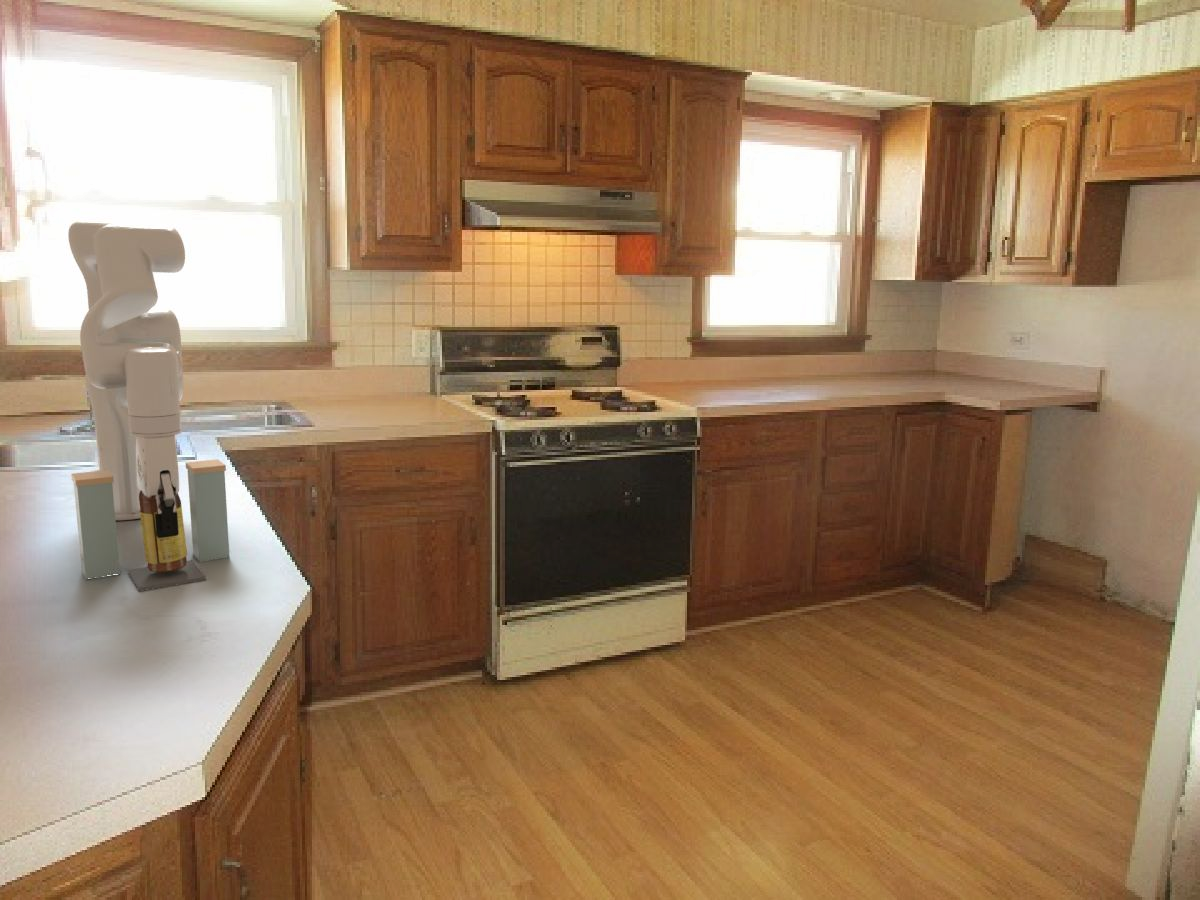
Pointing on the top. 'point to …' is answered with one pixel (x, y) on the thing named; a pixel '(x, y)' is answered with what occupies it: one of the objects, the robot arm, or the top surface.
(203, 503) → the canister
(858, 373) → the top surface
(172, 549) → the sauce bottle
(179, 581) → the plate
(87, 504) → the canister
